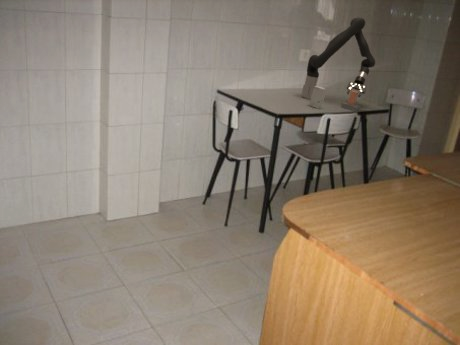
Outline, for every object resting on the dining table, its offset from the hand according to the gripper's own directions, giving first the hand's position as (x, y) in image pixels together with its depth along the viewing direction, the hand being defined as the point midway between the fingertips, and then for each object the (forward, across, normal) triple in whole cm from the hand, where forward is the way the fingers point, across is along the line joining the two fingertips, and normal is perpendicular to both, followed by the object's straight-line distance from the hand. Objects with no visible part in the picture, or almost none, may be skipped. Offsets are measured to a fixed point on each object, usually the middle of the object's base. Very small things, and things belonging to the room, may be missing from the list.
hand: (353, 95), depth 357 cm
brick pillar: (+4, 0, +6) cm, 7 cm away
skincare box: (+26, -19, -11) cm, 35 cm away
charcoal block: (+7, 0, +9) cm, 11 cm away
